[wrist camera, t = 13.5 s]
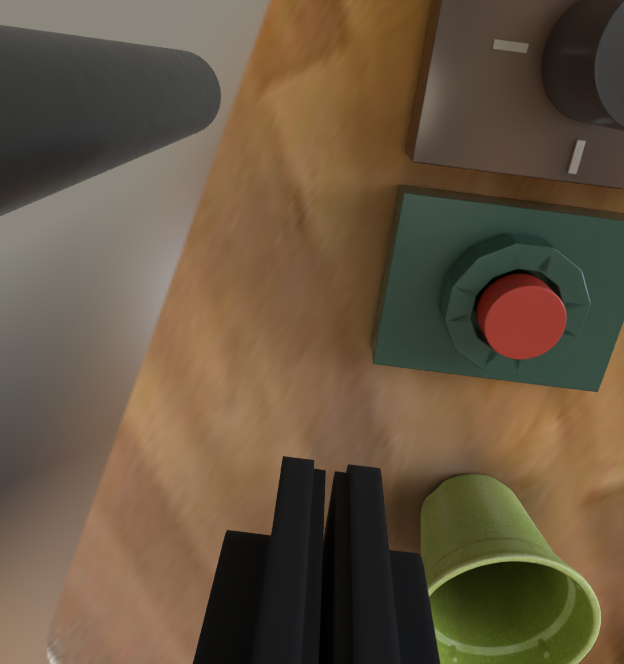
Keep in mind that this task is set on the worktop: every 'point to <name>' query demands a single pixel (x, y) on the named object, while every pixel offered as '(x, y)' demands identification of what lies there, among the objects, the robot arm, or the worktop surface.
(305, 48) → the worktop surface
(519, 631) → the plant pot
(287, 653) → the robot arm
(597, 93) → the dial
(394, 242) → the button box
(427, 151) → the dial panel
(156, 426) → the worktop surface
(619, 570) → the worktop surface
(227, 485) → the worktop surface
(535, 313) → the button
